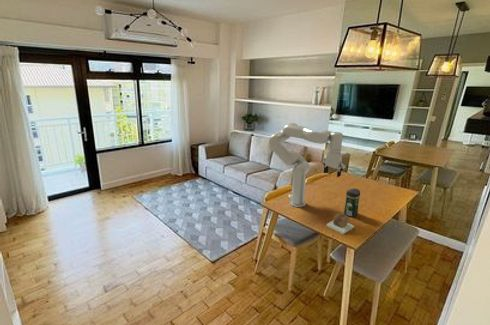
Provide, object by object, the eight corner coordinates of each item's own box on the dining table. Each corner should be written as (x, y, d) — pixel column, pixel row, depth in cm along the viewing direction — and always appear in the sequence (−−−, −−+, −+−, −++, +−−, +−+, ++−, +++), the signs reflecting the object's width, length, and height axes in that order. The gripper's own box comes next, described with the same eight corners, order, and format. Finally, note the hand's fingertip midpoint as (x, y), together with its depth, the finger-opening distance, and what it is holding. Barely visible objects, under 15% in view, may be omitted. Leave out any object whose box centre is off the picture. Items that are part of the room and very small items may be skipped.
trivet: (326, 226, 166) (326, 223, 166) (337, 220, 173) (337, 217, 173) (343, 234, 157) (343, 232, 157) (353, 227, 164) (353, 225, 164)
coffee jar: (348, 209, 187) (351, 186, 181) (359, 213, 182) (362, 189, 176) (341, 214, 181) (344, 190, 175) (352, 218, 175) (356, 193, 170)
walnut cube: (333, 224, 165) (334, 215, 163) (338, 221, 169) (339, 213, 167) (341, 228, 161) (342, 219, 159) (346, 225, 164) (348, 216, 162)
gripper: (320, 148, 175) (318, 172, 181) (343, 154, 162) (340, 179, 168) (327, 147, 180) (324, 170, 185) (349, 152, 167) (346, 176, 172)
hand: (332, 174), depth 176 cm, fingers open, 9 cm apart
